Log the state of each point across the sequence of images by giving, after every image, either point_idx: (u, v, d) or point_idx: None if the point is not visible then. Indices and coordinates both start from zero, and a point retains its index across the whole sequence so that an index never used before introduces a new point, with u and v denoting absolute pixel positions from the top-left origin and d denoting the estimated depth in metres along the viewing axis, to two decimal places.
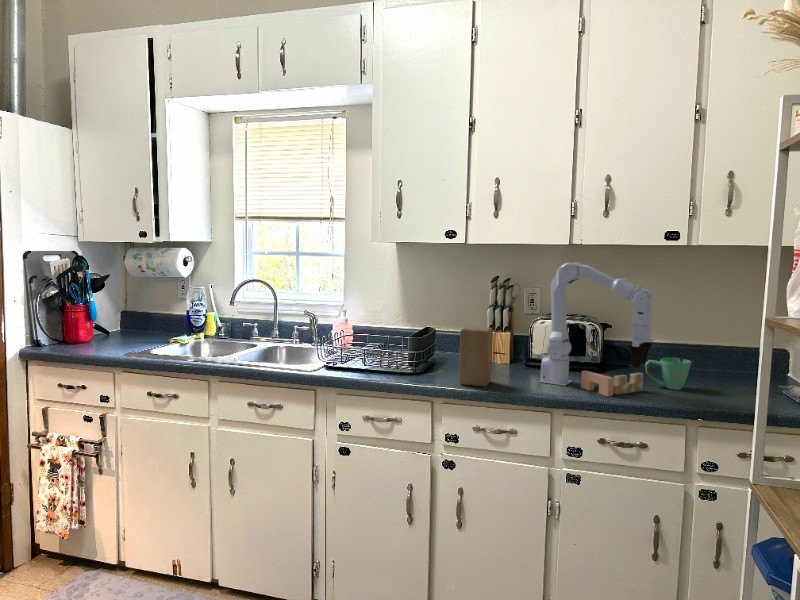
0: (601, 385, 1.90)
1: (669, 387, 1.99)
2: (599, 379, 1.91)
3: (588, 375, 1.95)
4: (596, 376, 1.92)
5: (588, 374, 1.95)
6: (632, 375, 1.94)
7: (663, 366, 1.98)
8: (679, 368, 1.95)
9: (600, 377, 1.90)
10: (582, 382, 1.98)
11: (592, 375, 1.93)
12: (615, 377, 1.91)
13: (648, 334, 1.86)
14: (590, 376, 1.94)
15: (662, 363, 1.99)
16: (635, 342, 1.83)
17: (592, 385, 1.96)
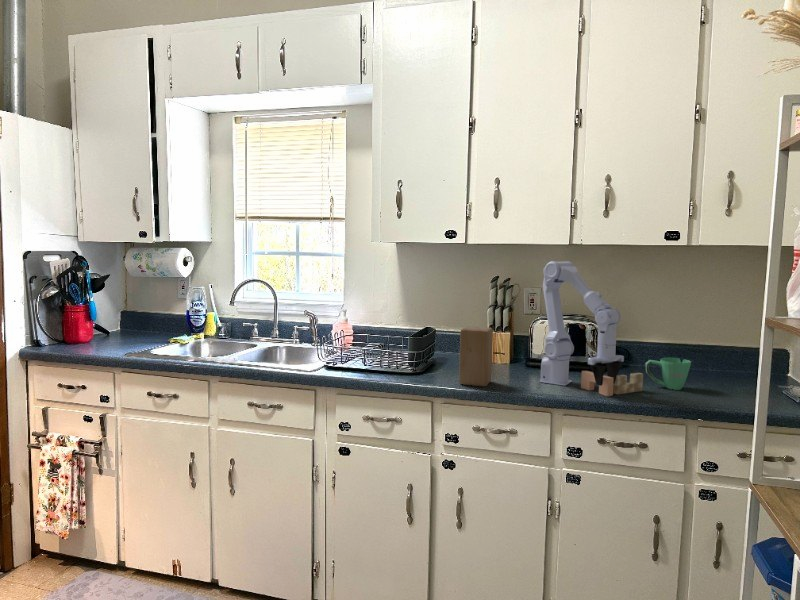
0: None
1: (669, 387, 1.99)
2: None
3: (588, 375, 1.95)
4: None
5: (588, 374, 1.95)
6: (632, 375, 1.94)
7: (663, 366, 1.98)
8: (679, 368, 1.95)
9: None
10: (582, 382, 1.98)
11: (592, 375, 1.93)
12: None
13: (610, 353, 1.86)
14: (590, 376, 1.94)
15: (662, 363, 1.99)
16: (590, 360, 1.86)
17: (592, 385, 1.96)
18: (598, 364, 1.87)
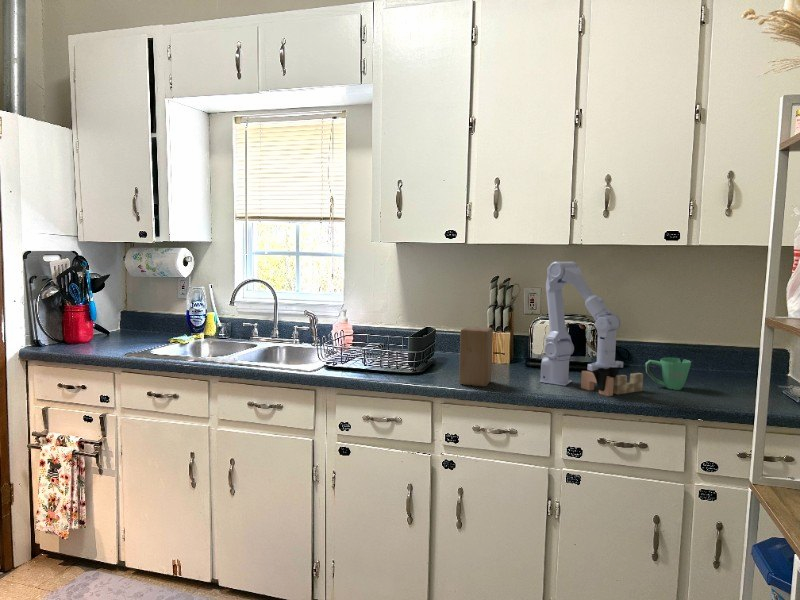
0: None
1: (669, 387, 1.99)
2: None
3: (588, 375, 1.95)
4: None
5: (588, 374, 1.95)
6: (632, 375, 1.94)
7: (663, 366, 1.98)
8: (679, 368, 1.95)
9: None
10: (582, 382, 1.98)
11: (592, 375, 1.93)
12: (615, 377, 1.91)
13: (609, 359, 1.87)
14: (590, 376, 1.94)
15: (662, 363, 1.99)
16: (589, 366, 1.86)
17: (592, 385, 1.96)
18: (600, 370, 1.88)
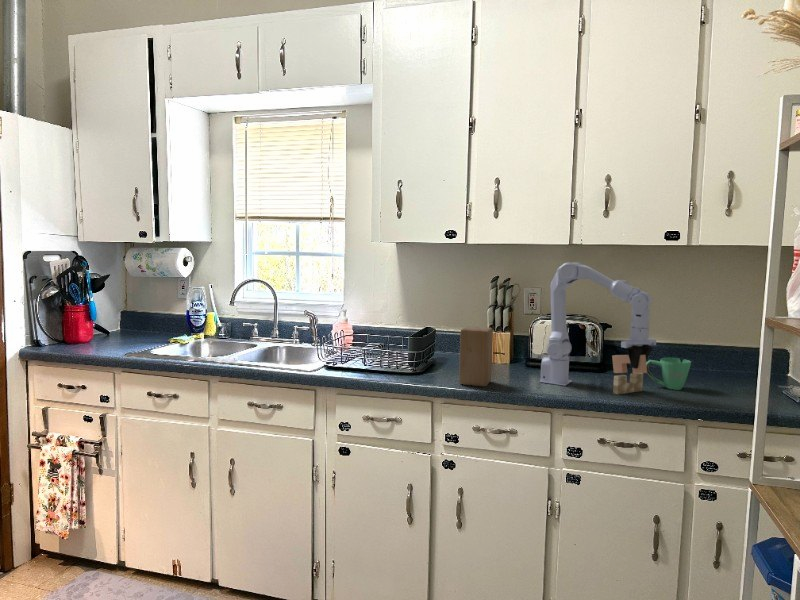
0: None
1: (669, 387, 1.99)
2: None
3: (619, 357, 1.95)
4: (627, 356, 1.92)
5: (619, 357, 1.95)
6: (632, 375, 1.94)
7: (663, 366, 1.98)
8: (679, 368, 1.95)
9: None
10: (614, 367, 1.97)
11: (623, 356, 1.93)
12: (615, 377, 1.91)
13: (643, 337, 1.86)
14: (621, 358, 1.94)
15: (662, 363, 1.99)
16: (623, 343, 1.86)
17: (625, 368, 1.95)
18: (634, 347, 1.87)
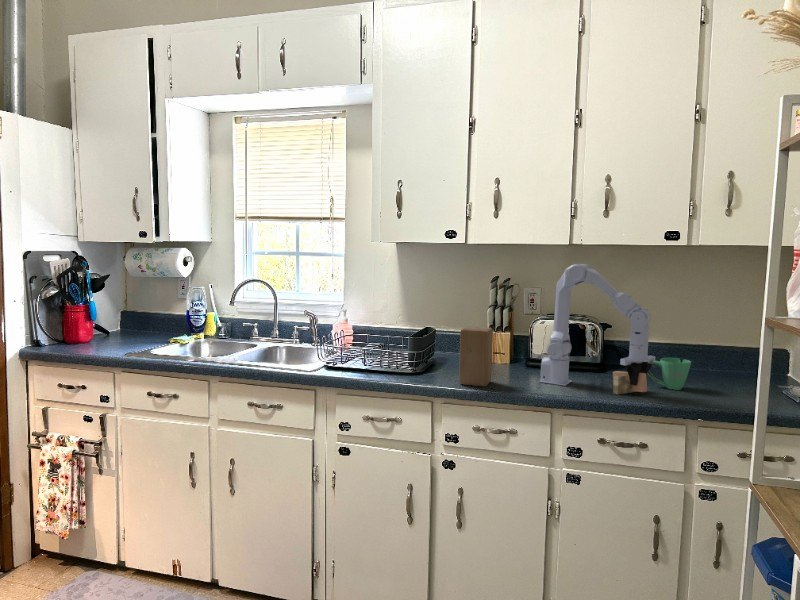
0: None
1: (669, 387, 1.99)
2: None
3: (620, 374, 1.95)
4: None
5: (620, 373, 1.95)
6: None
7: (663, 366, 1.98)
8: (679, 368, 1.95)
9: None
10: None
11: (624, 374, 1.93)
12: (615, 377, 1.91)
13: (642, 354, 1.87)
14: None
15: (662, 363, 1.99)
16: (622, 360, 1.86)
17: None
18: (633, 364, 1.87)
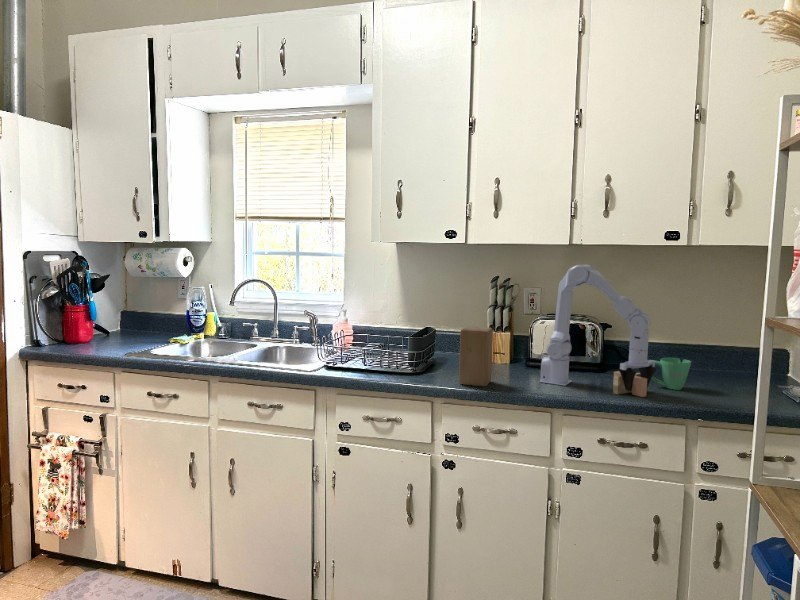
0: (634, 386, 1.90)
1: (669, 387, 1.99)
2: None
3: None
4: None
5: None
6: None
7: (663, 366, 1.98)
8: (679, 368, 1.95)
9: None
10: None
11: None
12: (615, 377, 1.91)
13: (642, 359, 1.87)
14: None
15: (662, 363, 1.99)
16: (622, 365, 1.86)
17: None
18: (628, 369, 1.87)
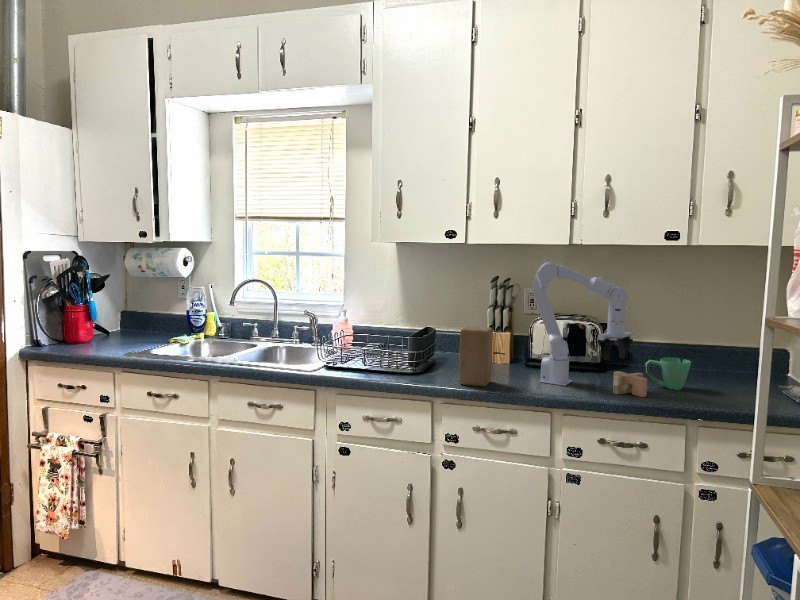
0: (634, 386, 1.90)
1: (669, 387, 1.99)
2: (633, 379, 1.90)
3: None
4: (629, 377, 1.91)
5: None
6: None
7: (663, 366, 1.98)
8: (679, 368, 1.95)
9: (633, 378, 1.90)
10: None
11: None
12: (615, 377, 1.91)
13: (619, 330, 1.96)
14: None
15: (662, 363, 1.99)
16: (600, 336, 1.96)
17: None
18: (606, 340, 1.96)
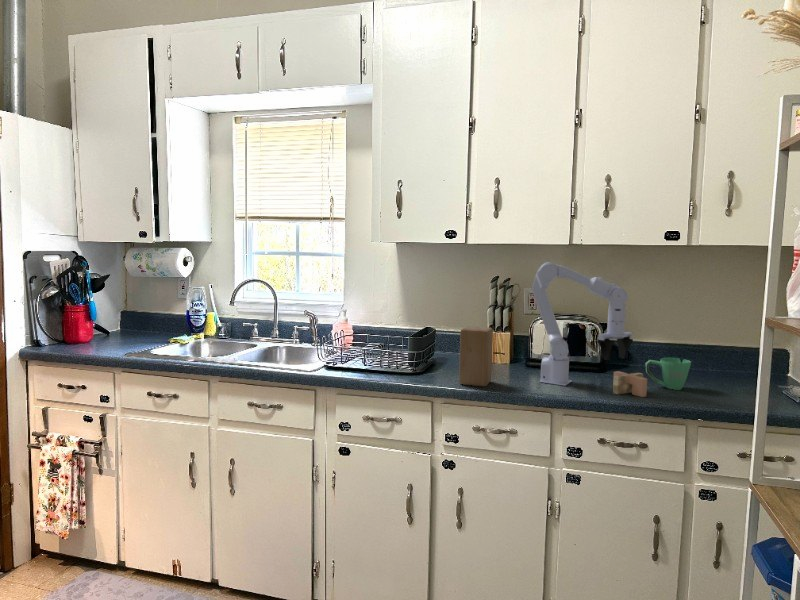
0: (634, 386, 1.90)
1: (669, 387, 1.99)
2: (633, 379, 1.90)
3: None
4: (629, 377, 1.91)
5: None
6: None
7: (663, 366, 1.98)
8: (679, 368, 1.95)
9: (633, 378, 1.90)
10: None
11: None
12: (615, 377, 1.91)
13: (619, 330, 1.96)
14: None
15: (662, 363, 1.99)
16: (600, 336, 1.96)
17: None
18: (606, 340, 1.96)
